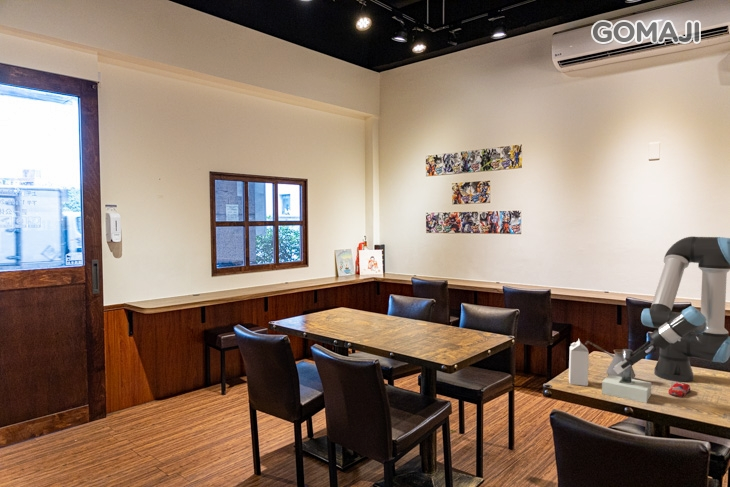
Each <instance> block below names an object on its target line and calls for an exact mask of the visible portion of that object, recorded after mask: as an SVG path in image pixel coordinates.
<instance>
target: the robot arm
mask: <svg viewBox="0 0 730 487" xmlns="http://www.w3.org/2000/svg"><path fill="white" fill-rule="evenodd" d="M663 262H664V266H663V269H662V272H661V275H660V278H659V282H658V285H657V288H656V290H655V294H654V296H653V300H652V303H651V306H650V308H643V310H642V312H641V316H640V320H641V323H642V324H641V325H643V326H645V327H649V328H655V330H653V331H652V332H650V334H649V337H650V339H651V340H647V341H646V342H645V343H644V344H643V345H641V346H639V347H638V348H637V349H635V350H634V351H633V354H632V356H631V357H630V358H629V359H627V358H625V361H623V362H622V361H621V362H620V363H618V364H617V365H615V366H614V367H615V368H613V370H614V371H615V372H616V373H617V374H619V373H621V372H622V371H624V370H625V369H627V368H628V367H629V366H631V365H632V366H634V365H635V364H636V363H638V362H640V361H641V360H643V359H644V358H646V357H647V356H649V355H650V354H652V353H654V352H655V351H657V347H659V356H658V360H657V362H656V364H655V366H654V372H653V373H654V375H656V376H657V377H659V378H662V379H665V380H669V381H674V382H675V381H676V382H683V383H684V382H692V381H693V380H694V372H693V369H692V366H691V362H690V358H694V359H699V360H703V361H709V362H713V363H714V362H715V363H721V364H723V363H726V362H727V361H728V360H729V359H730V336H729V331H728V330H727V329H726V328H725V322H726V321H725V319H726V318H725V317H726V299H727V298H726V297H727V296H726V294H727V277H728V276H727V274H728V272H730V237H723V236H722V237H721V236H686V237H683V238H681V239H679V240H678V241H676V242H675V243H674V244H672V245H671V247H669V248H668V249H667V251H666V253H665V255H664V258H663ZM691 263H694V264H695V263H696V264H698V265H697V266H698V269H699V270H700V271H701V273H702V274H701V294H700V296H701V297H700V310H699V309H698V308H697V307H695V306H693V305H690V306H688V307H687V308H685V309H682V310H681V311H680V312H675V311H672V310H673V307H674V305H675V300H676V297H677V295H678V291H679V287H680V284H681V282H682V278H683V275H684V272H685V269H686V268H688V267H689V265H690V264H691Z"/></svg>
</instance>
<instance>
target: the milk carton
mask: <svg viewBox="0 0 730 487" xmlns="http://www.w3.org/2000/svg"><path fill="white" fill-rule="evenodd" d="M589 354H590V353H589V350H588V348H587V347H586V346H585V344H583V343H582V342H581V341H580V338H578V340H577V341H576V342H575V341H574V342H572V343H570V346H569V357H568V358H569V360H568V382H569V385H573V386H586V387H588V385H589V361H590V360H589V358H590V357H589Z"/></svg>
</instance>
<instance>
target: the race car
mask: <svg viewBox="0 0 730 487" xmlns="http://www.w3.org/2000/svg"><path fill="white" fill-rule="evenodd" d="M670 386H671V387H670V388H669V389H668V395H671V396H674V397H678V398H684V397H685V396H687V395H688V394H690V393H691V386H690V384H688V383H687V384H686V383H684V382H681V381H676V382H675V383H674V384H673V385H670Z"/></svg>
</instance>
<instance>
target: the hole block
mask: <svg viewBox="0 0 730 487" xmlns="http://www.w3.org/2000/svg"><path fill="white" fill-rule="evenodd" d="M621 380H622V377H619V376H614V375H608V374H607V376H606V377H605V378H604V379H603V380H602V381H601V394H602V395H606V396H612V397H615V398H620V399H626V400H630V401H634V402H638V403H639V402H640V403H644V404H647V403H648V401H649V399H650V397H651V395H652V382H650V381H645V380H644V381H643V380H639V379H635V378H634V379H632V381H631V383H626V382H622V381H621Z"/></svg>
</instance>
